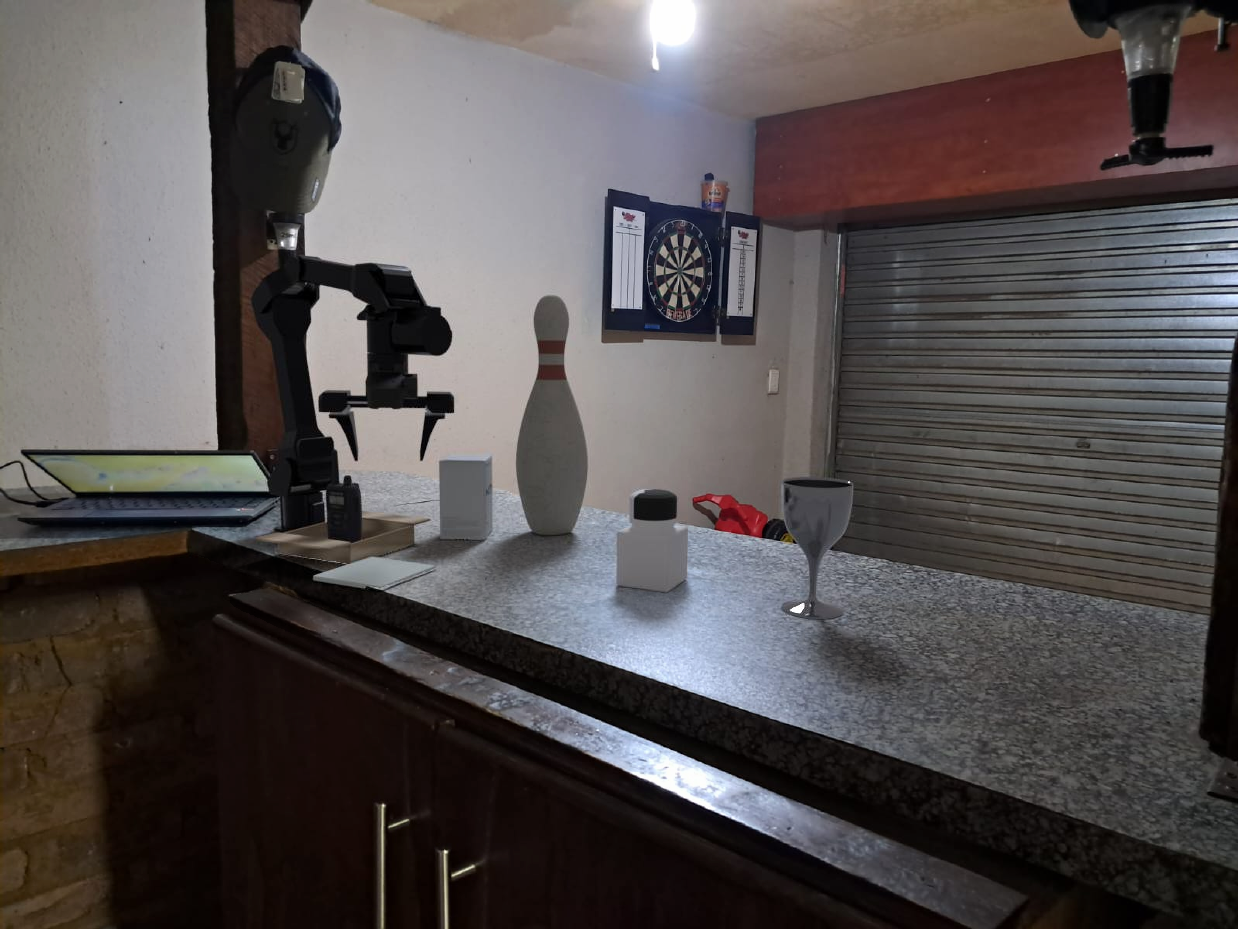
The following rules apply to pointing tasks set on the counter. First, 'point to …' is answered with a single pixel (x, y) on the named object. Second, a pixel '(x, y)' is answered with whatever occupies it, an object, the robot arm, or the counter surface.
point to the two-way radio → (343, 507)
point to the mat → (373, 572)
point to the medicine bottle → (652, 543)
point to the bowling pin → (551, 433)
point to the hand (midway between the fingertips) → (389, 460)
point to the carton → (376, 530)
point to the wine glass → (815, 531)
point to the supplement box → (466, 497)
